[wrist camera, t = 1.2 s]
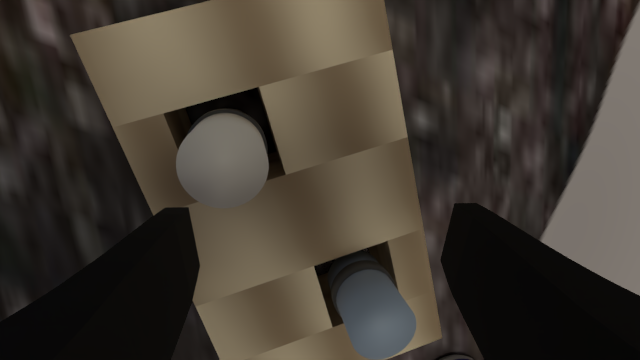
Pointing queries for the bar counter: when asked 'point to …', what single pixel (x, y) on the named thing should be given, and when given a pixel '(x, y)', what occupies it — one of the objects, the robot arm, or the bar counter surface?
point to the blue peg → (370, 306)
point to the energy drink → (456, 357)
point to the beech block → (276, 161)
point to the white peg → (223, 159)
